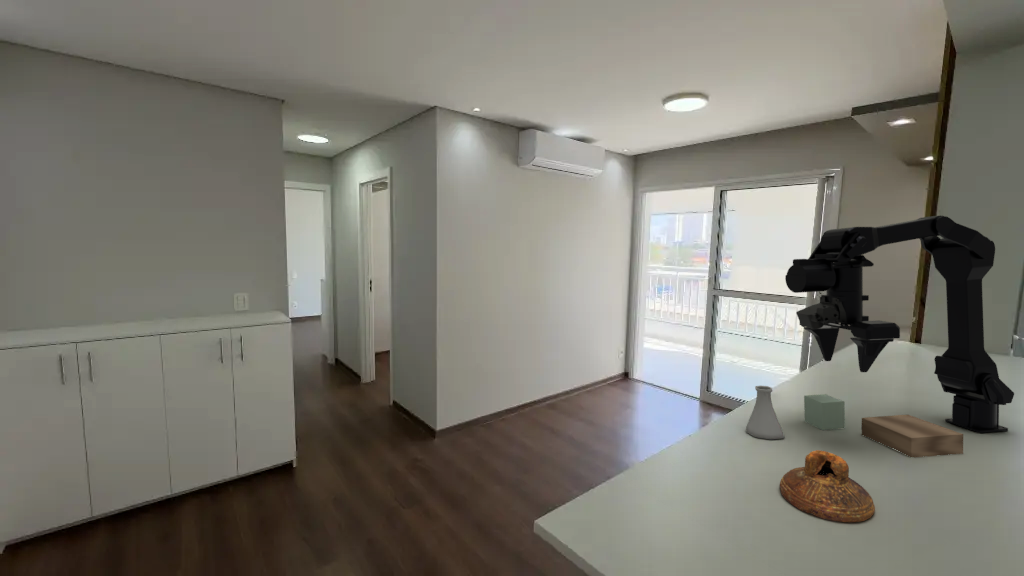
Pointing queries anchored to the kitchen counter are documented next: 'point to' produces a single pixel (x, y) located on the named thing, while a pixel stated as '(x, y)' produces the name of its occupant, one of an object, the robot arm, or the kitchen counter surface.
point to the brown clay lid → (812, 487)
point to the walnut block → (913, 435)
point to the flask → (764, 417)
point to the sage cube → (824, 411)
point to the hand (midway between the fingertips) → (844, 366)
